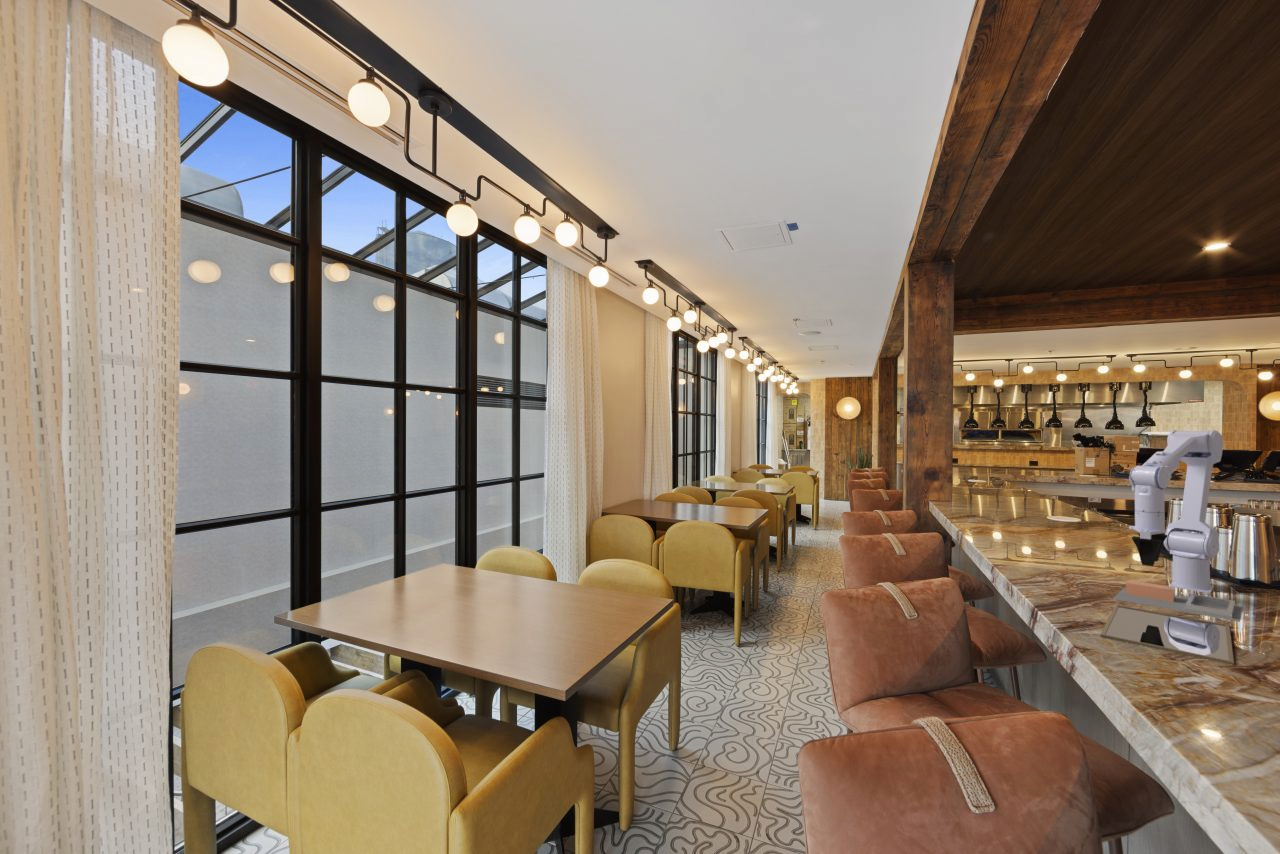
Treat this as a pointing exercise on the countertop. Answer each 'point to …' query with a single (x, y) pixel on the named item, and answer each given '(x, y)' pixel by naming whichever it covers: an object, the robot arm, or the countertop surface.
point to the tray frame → (1208, 610)
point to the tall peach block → (1150, 590)
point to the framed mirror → (1170, 633)
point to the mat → (1176, 604)
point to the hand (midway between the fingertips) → (1150, 562)
